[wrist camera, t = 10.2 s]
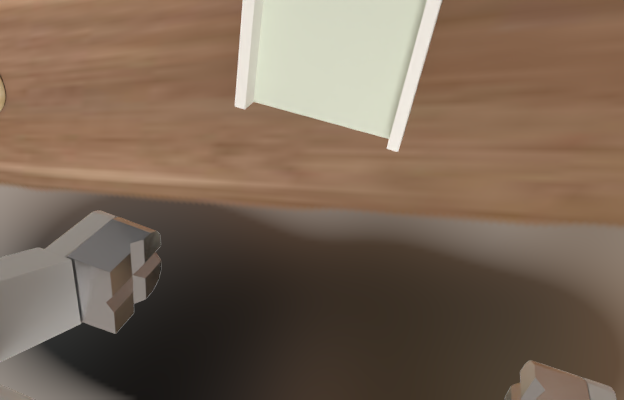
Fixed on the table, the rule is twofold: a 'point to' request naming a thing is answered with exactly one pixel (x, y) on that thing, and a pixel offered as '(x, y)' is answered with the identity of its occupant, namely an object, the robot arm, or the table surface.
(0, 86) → the hand bell
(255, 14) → the tray
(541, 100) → the table surface
